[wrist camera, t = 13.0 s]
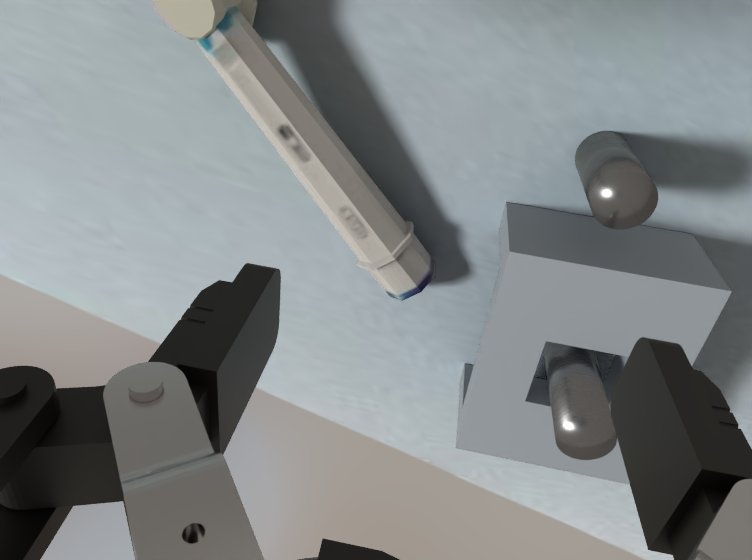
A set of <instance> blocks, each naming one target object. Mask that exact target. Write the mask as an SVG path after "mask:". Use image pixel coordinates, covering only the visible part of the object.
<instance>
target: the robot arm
mask: <svg viewBox="0 0 752 560" xmlns="http://www.w3.org/2000/svg"><path fill="white" fill-rule="evenodd" d="M280 282H281V275H280V270H279V269H276V268H271V267H265V266H260V265H255V264H249V263H246V264H245V265H244V266H243V268H242V269H241V271H240V272H239V274H238V275H237V277H236V278H235V280H234V281H233V282H226V281H221V280H219V281H217V282H216V283H214V284H212V285H211V286H209V287H207V288H206V289H204V290H202V291H201V292H200V293H199V295H198V296H197V297H196V299H195V300H194V301H193V303H192V304H191V305H190V308H188V309H187V311H186V312H185V313H184V315H183V316H182V318H181V320H179V321H178V323H177V324H176V325H175V327H174V328H173V329H172V331H171V332H170V333H169V335H168V336H167V337H166V339H165V340H164V341H163V343H162V344H161V345H160V347H159V348H158V349H157V351H156V352H155V353H154V355H153V356H152V357H151V359H150V360H149V361H148V362H145V363H139V364H136V365H132V366H130V367H127V368H125V369H123V370H121V371H120V372H118V373H117V374H115V375H114V376H113V377H112V378H111V379H110V380H109V381H108V383H107V384H106V385H105V386H97V387H81V388H80V387H79V388H58V389H56V386H55V383H54V380H53V378H52V376H51V375H50V374H49V373H48V372H47V371H45V370H43V369H41V368H38V367H33V366H14V367H8V368H3V369H0V560H40V559H41V557H42V556H43V554H44V552H45V551H46V549H47V548H48V546H49V544H50V543H51V541H52V540H53V538H54V536H55V535H56V533H57V531H58V530H59V528H60V526H61V525H62V523H63V522H64V520H65V518H66V517H67V515H68V514H69V512H70V510H71V509H72V507H73V506H76V505H87V504H97V503H107V502H119V501H123V502H124V507H125V512H126V516H127V521H128V526H129V531H130V536H131V541H132V546H133V551H134V555H135V560H264V558H263V556H262V553H261V550H260V548H259V545H258V543H257V540H256V537H255V535H254V532H253V530H252V527H251V525H250V522H249V519H248V517H247V514H246V512H245V509H244V507H243V504H242V502H241V499H240V496H239V494H238V491H237V489H236V486H235V484H234V481H233V478H232V476H231V473H230V471H229V468H228V466H227V463H226V461H225V458H224V456H223V454H224V451H225V450H226V447H227V445H228V443H229V441H230V439H231V437H232V435H233V433H234V431H235V429H236V426H237V424H238V422H239V420H240V418H241V416H242V413H243V412H244V410H245V407H246V406H247V403H248V401H249V399H250V397H251V395H252V393H253V391H254V388H255V387H256V385H257V382H258V380H259V378H260V376H261V374H262V372H263V370H264V368H265V366H266V364H267V361H268V359H269V357H270V355H271V353H272V351H273V349H274V346H275V343H276V339H277V334H278V328H279V310H280ZM610 412H611V418H612V421H613V425H614V429H615V432H616V436H617V439H618V443H619V446H620V450H621V454H622V457H623V461H624V464H625V468H626V472H627V475H628V479H629V482H630V486H631V489H632V493H633V497H634V500H635V504H636V507H637V511H638V514H639V518H640V522H641V525H642V529H643V532H644V536H645V539H646V543H647V547H648V550H651V551H656V552H661V553H666V554H671V555H673V557H674V560H752V449H751V447H750V446H749V444H748V442H747V440H746V438H745V436H744V434H743V432H742V430H741V429H738V423H737V421H736V419H735V417H734V415H733V414H732V413H730V408H729V406H728V404H727V402H726V400H725V398H724V397H723V395H722V393H721V391H720V389H719V388H718V387H717V386H716V385H715V384H713V383H712V382H711V381H710V380H709V379H708V378H707V377H706V376H705V375H704V374H703V373H702V372H701V371H697V370H693V368H692V366H691V364H690V362H689V360H688V358H687V356H686V354H685V352H684V350H683V348H682V346H681V345H680V344H678V343H672V342H667V341H662V340H656V339H651V338H645V337H642V338H640V339H639V340H638V341H637V342H636V343H635V345H634V347H633V349H632V351H631V354H630V356H629V358H628V360H627V362H626V364H625V366H624V368H623V370H622V372H621V374H620V377H619V379H618V381H617V383H616V385H615V387H614V390H613V393H612V397H611V404H610ZM299 560H399V559H397V558H395V557H393V556H391V555H389V554H387V553H385V552H383V551H379V550H374V549H369V548H365V547H360V546H355V545H351V544H346V543H341V542H336V541H332V540H327V539H323V540H322V544H321V548H320V552H319V556H318V557H316V558H305V559H299Z"/></svg>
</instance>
